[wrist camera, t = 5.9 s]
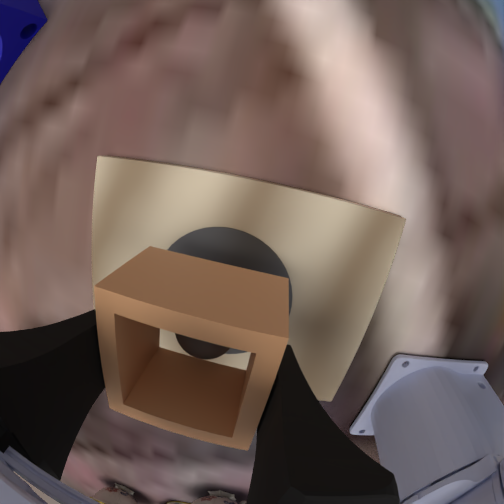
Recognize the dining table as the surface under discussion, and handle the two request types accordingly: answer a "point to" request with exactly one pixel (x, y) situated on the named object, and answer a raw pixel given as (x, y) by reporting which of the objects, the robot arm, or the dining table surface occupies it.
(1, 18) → the cable clip
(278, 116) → the dining table surface
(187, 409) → the collar
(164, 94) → the dining table surface
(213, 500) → the chinaware
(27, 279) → the dining table surface
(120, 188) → the post plate
